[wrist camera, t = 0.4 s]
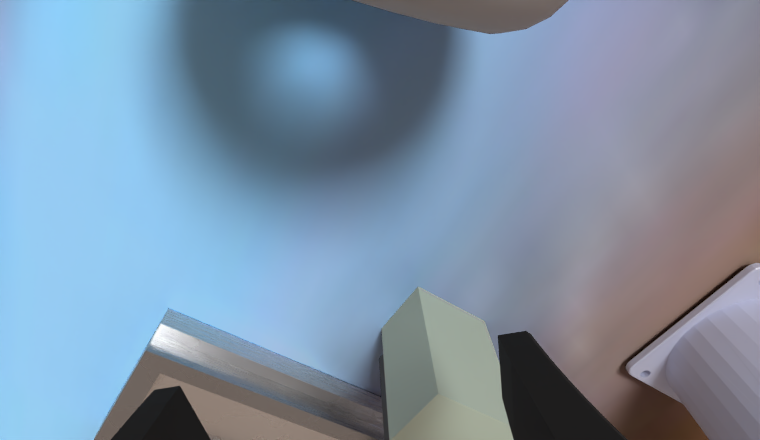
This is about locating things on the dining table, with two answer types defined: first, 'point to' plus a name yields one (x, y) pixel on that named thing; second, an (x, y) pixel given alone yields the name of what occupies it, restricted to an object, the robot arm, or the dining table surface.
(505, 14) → the donut
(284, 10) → the dining table surface
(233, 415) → the tray
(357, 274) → the dining table surface
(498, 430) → the pale green cuboid
